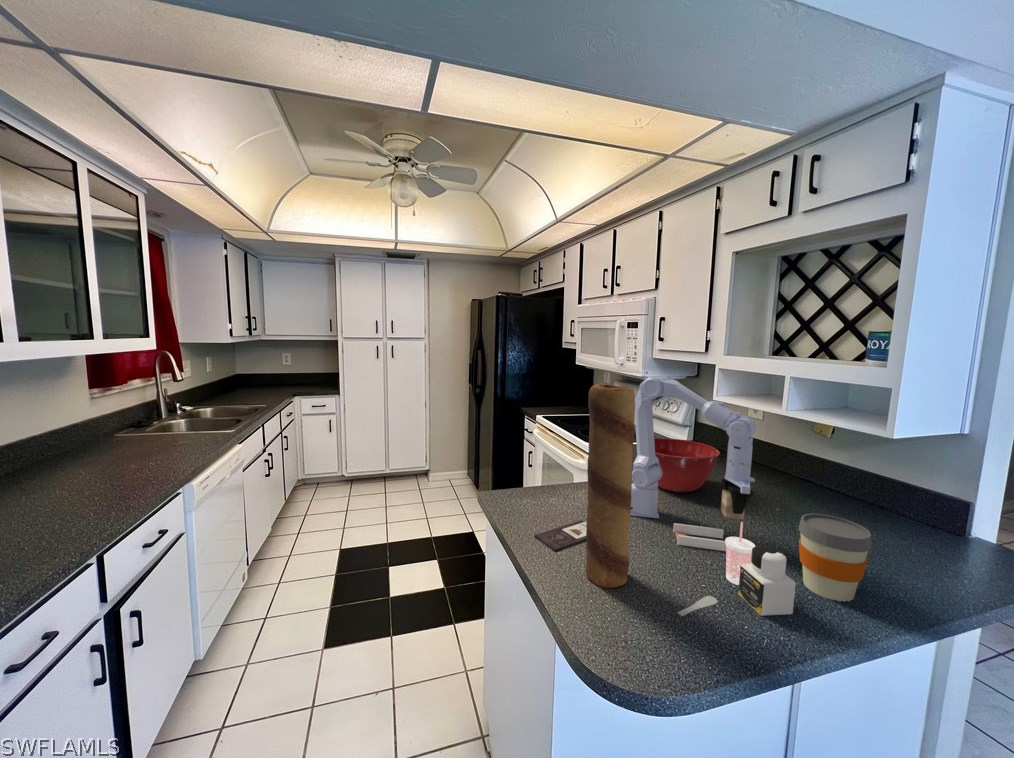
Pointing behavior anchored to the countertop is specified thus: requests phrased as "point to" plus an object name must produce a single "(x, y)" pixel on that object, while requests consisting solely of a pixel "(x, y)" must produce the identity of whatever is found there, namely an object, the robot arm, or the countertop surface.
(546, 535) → the chocolate bar
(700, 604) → the grey flat paddle piece
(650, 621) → the countertop surface
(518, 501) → the countertop surface
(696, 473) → the mixing bowl
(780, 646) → the countertop surface
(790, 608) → the medicine bottle
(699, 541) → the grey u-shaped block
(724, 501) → the maple block
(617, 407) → the wafer roll
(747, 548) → the beverage cup
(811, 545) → the reusable coffee cup
